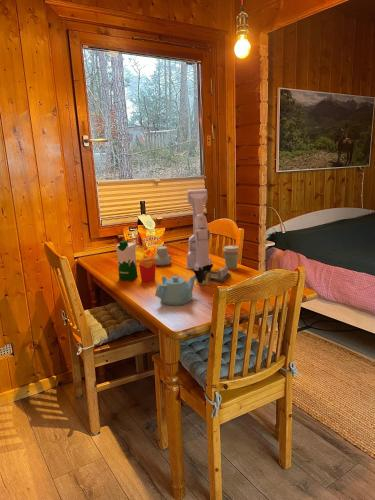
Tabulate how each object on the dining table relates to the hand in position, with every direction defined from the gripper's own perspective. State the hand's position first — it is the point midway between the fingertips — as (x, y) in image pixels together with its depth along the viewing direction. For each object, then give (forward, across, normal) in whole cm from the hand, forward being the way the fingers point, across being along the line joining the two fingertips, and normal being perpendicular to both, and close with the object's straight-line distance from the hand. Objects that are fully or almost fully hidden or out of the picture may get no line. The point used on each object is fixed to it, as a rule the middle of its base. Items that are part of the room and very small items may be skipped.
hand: (203, 280), depth 177 cm
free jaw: (0, +9, -6) cm, 11 cm away
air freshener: (+2, +20, +36) cm, 41 cm away
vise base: (+1, +10, 0) cm, 10 cm away
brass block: (+2, 0, 0) cm, 2 cm away
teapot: (+2, -24, +1) cm, 24 cm away
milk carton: (+2, -8, +39) cm, 40 cm away
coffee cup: (+2, +28, -3) cm, 28 cm away
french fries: (+2, -8, +27) cm, 28 cm away
